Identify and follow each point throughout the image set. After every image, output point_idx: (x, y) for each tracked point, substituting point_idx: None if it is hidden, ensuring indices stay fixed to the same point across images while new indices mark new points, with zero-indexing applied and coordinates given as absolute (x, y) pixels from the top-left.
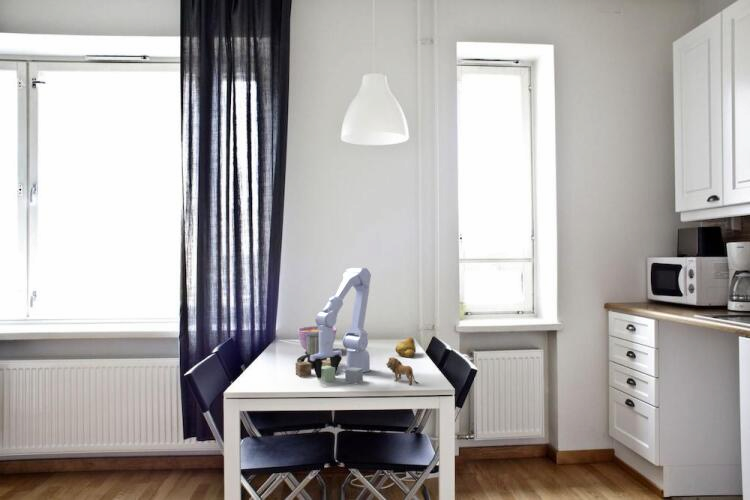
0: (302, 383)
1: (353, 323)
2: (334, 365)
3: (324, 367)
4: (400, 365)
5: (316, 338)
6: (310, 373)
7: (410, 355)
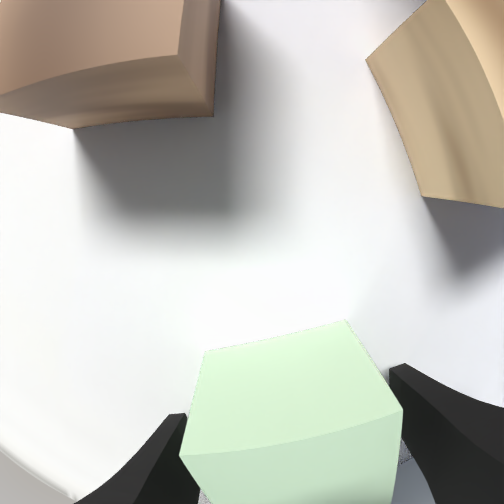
0: (52, 377)
1: None
2: (435, 472)
3: (282, 490)
4: None
5: None
6: (198, 109)
7: None
